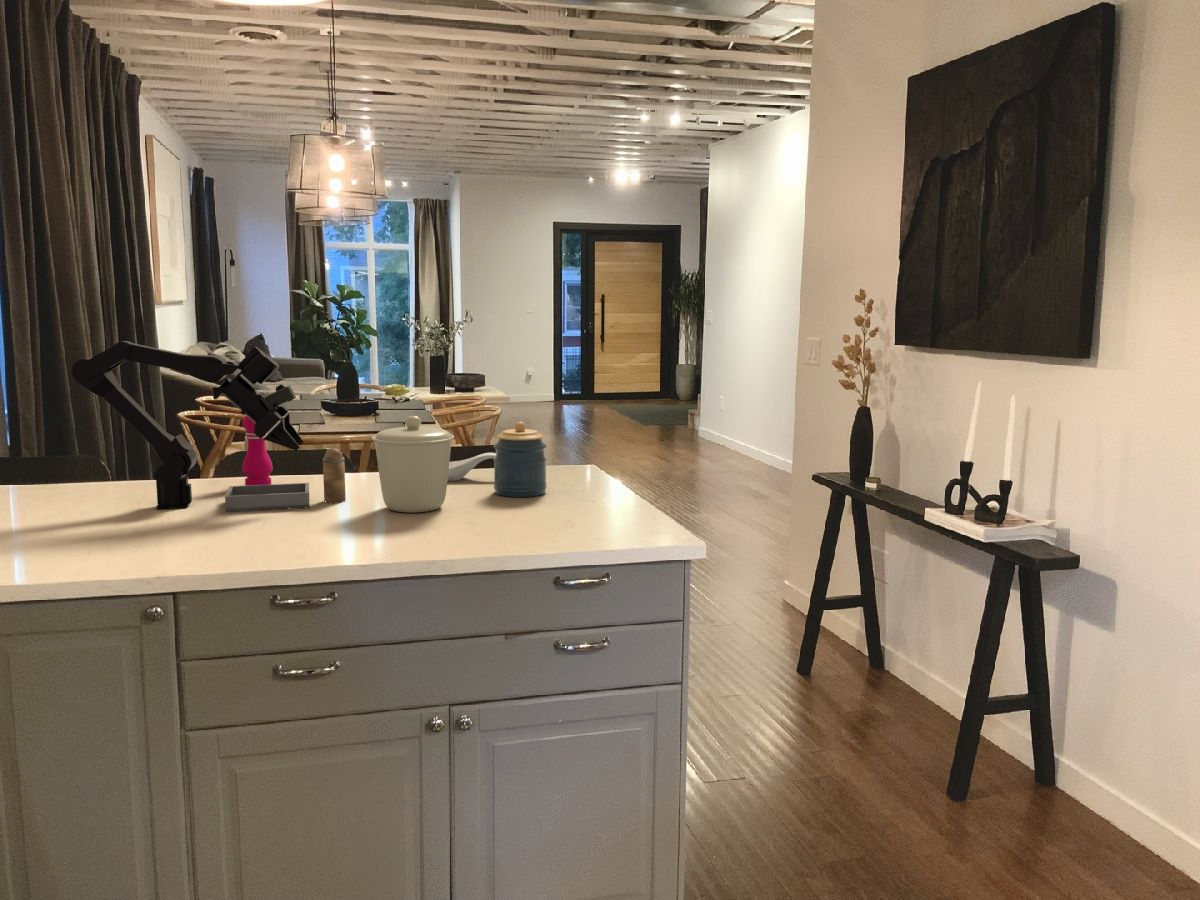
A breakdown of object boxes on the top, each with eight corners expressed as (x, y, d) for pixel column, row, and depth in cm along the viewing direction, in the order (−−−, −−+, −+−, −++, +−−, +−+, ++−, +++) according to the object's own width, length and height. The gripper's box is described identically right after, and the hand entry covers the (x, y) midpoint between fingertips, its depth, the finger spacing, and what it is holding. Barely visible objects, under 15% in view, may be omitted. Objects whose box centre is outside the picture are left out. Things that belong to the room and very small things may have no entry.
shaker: (324, 503, 217) (322, 450, 215) (323, 499, 221) (322, 446, 219) (346, 502, 218) (344, 449, 216) (345, 498, 223) (343, 446, 221)
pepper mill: (267, 488, 234) (263, 408, 231) (238, 487, 234) (234, 407, 231) (277, 482, 241) (274, 405, 238) (249, 482, 242) (246, 404, 239)
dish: (225, 512, 206) (225, 496, 206) (230, 501, 218) (229, 486, 218) (309, 508, 211) (309, 492, 211) (309, 497, 223) (308, 482, 223)
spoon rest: (421, 483, 244) (421, 456, 243) (430, 475, 256) (430, 449, 255) (512, 484, 244) (512, 457, 243) (517, 476, 256) (517, 450, 254)
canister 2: (550, 488, 237) (550, 419, 235) (542, 498, 225) (542, 425, 222) (499, 487, 239) (499, 418, 236) (488, 497, 226) (488, 424, 223)
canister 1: (437, 519, 202) (436, 421, 199) (359, 514, 205) (356, 419, 202) (466, 502, 219) (465, 412, 216) (393, 498, 223) (391, 410, 220)
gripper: (267, 376, 203) (322, 426, 207) (277, 370, 221) (327, 416, 225) (230, 413, 203) (286, 462, 207) (243, 404, 221) (294, 449, 225)
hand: (300, 446), depth 216 cm, fingers open, 9 cm apart
